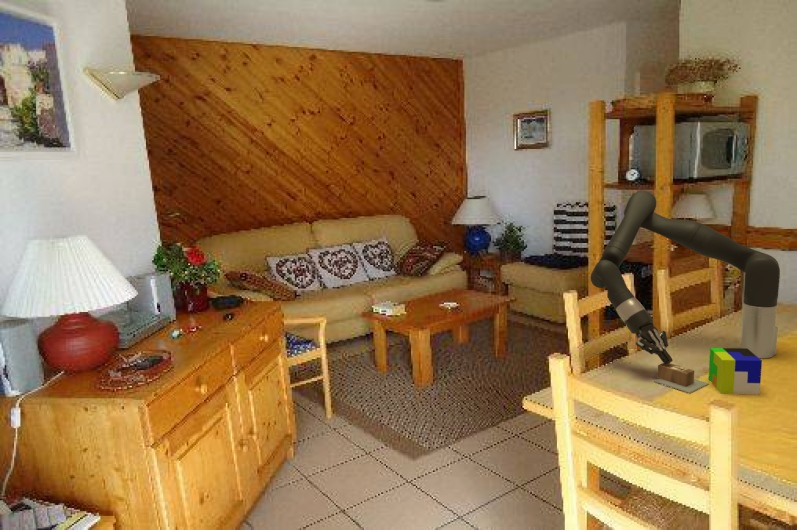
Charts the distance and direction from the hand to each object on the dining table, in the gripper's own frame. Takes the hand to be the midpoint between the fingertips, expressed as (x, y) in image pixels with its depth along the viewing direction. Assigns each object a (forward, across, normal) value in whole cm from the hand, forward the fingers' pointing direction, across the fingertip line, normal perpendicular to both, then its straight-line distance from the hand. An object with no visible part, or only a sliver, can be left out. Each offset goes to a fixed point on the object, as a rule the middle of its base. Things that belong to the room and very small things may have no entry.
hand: (669, 362), depth 168 cm
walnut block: (0, 0, -4) cm, 4 cm away
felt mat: (+7, 0, -1) cm, 7 cm away
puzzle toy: (+14, -9, +6) cm, 18 cm away
